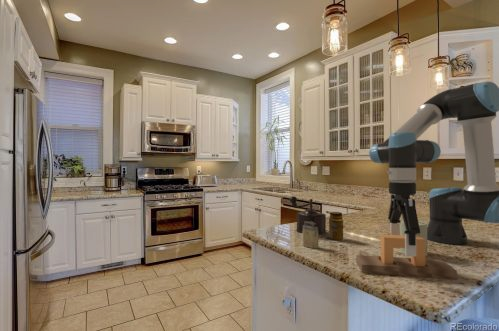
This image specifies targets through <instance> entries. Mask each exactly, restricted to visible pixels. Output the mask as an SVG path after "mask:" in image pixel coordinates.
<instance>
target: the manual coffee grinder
mask: <svg viewBox="0 0 499 331" xmlns="http://www.w3.org/2000/svg"><path fill="white" fill-rule="evenodd" d="M297 200H298V198H297V196H295V195H294V196H290V197H289V199H288V201H289V202H290V203H291V205H290V206H291V207H296V208H305V210H303V211H301V212H297V213H296V232H298V233H301V234H303V226H304V222H306V221H308V222H313V223H316V225H314V227H318V235H321V234H326V233H327V230H326V229H327V227H326V226H327V224H326V222H327V220H326V219H327V218H326V217H327V216H326V213H323V212H318V211H317V210H315V209H313V199H312V198H310V199H309V202H308V203H306V204H303V205H298V204H297ZM308 206H309V207H310V208H306V207H308ZM308 225H309V226H310V224H308Z"/></svg>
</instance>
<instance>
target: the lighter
mask: <svg viewBox="0 0 499 331" xmlns="http://www.w3.org/2000/svg"><path fill="white" fill-rule="evenodd" d="M308 224H310V226H309V225H308ZM314 225H316V223H313V222H308V221H306V222H304V226H303V233H302V246H303V247H306V248H311V249H319V234H318V227H314Z"/></svg>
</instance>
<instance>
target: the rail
mask: <svg viewBox="0 0 499 331" xmlns="http://www.w3.org/2000/svg"><path fill="white" fill-rule="evenodd" d="M355 258H356V259H355V263H356V265H357V267H358V268H359V270H360V271H361V273H362V274H375V275H377V274H378V275H389V276H390V275H392V276H393V275H394V276H408V277H421V278H422V277H423V278H435V279H449V280H458V271H457V269H456V268H454V267H452V266H451V265H449V264H448V263H447V262H446V261H444V260H442V259H430V258H425V266H414V265H413V264H412V263H411V257H400V256H399V257H397V256H396V257H395V256H393V264H382V262H381V255H379V256H378V255H363V254H361V255H359V254H356V255H355Z"/></svg>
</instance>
